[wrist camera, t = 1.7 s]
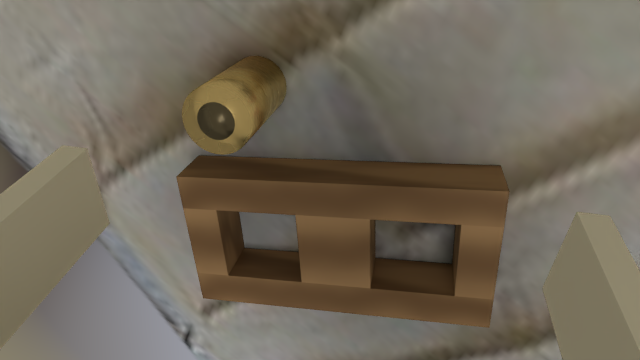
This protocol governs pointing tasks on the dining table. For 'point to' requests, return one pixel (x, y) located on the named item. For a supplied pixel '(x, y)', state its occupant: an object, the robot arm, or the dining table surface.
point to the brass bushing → (234, 105)
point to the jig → (347, 234)
